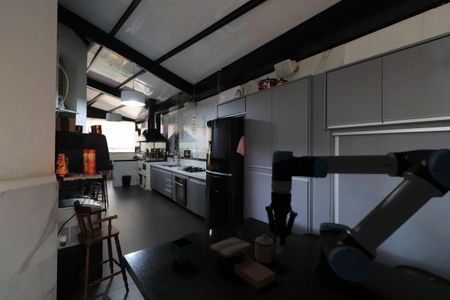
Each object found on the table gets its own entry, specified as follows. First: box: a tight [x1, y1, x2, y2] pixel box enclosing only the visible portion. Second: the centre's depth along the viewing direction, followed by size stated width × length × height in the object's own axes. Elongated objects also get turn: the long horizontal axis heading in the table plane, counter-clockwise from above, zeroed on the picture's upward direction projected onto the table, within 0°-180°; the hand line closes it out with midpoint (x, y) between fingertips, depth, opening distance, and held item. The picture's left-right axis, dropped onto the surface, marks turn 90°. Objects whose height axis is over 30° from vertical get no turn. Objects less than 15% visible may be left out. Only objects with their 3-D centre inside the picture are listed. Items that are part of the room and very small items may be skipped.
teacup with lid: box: [254, 234, 275, 264], centre depth 104 cm, size 12×9×12 cm
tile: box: [233, 257, 276, 290], centre depth 89 cm, size 14×10×4 cm
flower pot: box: [169, 236, 196, 266], centre depth 99 cm, size 9×9×9 cm
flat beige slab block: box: [208, 236, 252, 263], centre depth 99 cm, size 12×16×8 cm
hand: (279, 252), depth 80 cm, fingers closed
